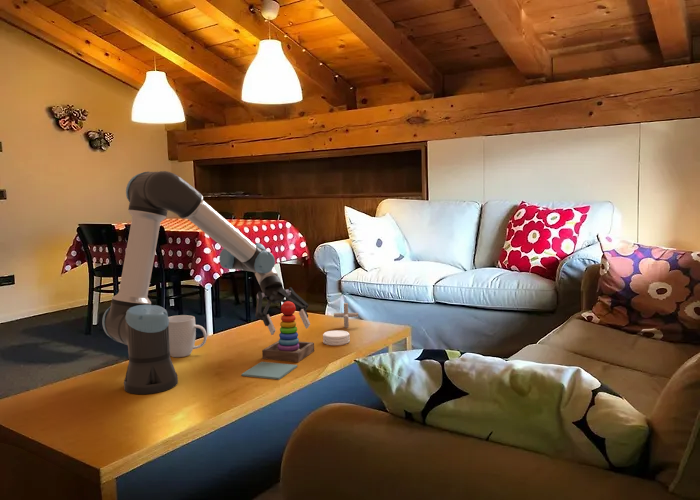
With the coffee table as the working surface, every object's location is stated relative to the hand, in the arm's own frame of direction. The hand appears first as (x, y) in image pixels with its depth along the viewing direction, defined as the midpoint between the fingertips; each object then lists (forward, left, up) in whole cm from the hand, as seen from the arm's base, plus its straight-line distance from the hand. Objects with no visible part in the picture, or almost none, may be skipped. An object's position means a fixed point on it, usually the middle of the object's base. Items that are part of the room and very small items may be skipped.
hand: (291, 329), depth 199 cm
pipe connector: (+43, -4, -10) cm, 44 cm away
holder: (+1, +2, -9) cm, 10 cm away
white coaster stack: (+21, -8, -10) cm, 25 cm away
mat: (-17, 0, -9) cm, 19 cm away
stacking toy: (+1, +2, -10) cm, 10 cm away
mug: (-9, +38, -10) cm, 40 cm away
